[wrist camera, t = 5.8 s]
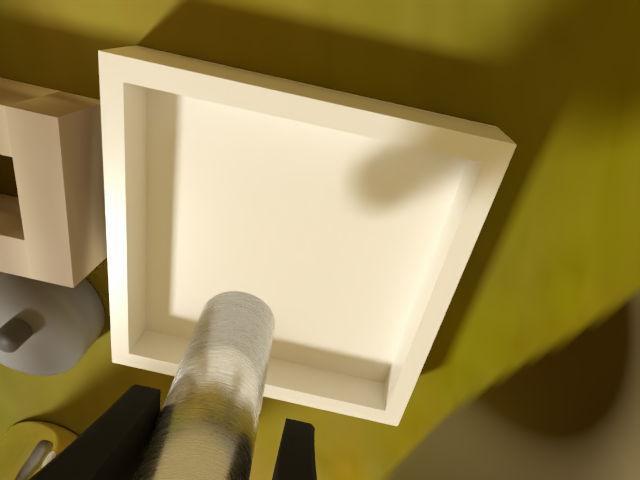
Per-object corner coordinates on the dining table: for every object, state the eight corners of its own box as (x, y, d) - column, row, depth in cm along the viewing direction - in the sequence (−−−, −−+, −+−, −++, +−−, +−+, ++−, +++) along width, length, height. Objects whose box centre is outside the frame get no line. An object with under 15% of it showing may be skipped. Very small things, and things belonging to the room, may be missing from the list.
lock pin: (186, 350, 15) (57, 663, 8) (191, 272, 13) (35, 576, 6) (279, 364, 15) (235, 682, 8) (294, 289, 14) (256, 602, 6)
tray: (137, 327, 22) (112, 362, 20) (135, 45, 16) (98, 50, 14) (394, 385, 22) (397, 426, 20) (496, 126, 16) (516, 145, 14)
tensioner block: (-10, 332, 24) (-58, 373, 21) (-68, 61, 17) (-149, 71, 14) (116, 360, 24) (84, 404, 21) (106, 101, 17) (57, 117, 14)
